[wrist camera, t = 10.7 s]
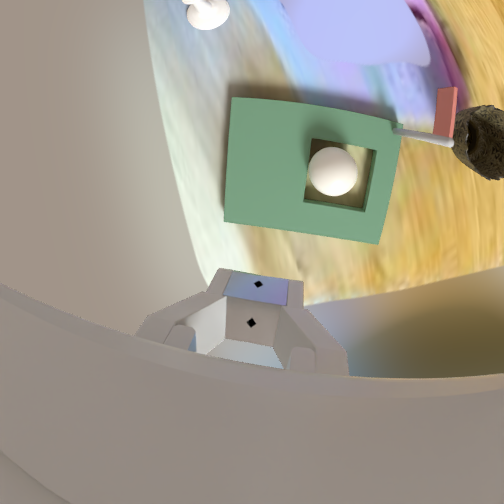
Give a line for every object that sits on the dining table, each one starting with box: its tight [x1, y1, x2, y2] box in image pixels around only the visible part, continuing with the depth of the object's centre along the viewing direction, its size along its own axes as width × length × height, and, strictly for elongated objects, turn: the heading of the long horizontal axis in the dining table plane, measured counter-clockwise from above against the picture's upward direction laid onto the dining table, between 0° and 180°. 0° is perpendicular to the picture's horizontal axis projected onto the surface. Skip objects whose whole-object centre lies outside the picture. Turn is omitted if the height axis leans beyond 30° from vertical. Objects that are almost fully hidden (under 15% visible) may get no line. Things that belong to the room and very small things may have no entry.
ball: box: [309, 147, 358, 196], centre depth 27 cm, size 5×5×5 cm
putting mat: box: [224, 87, 458, 245], centre depth 23 cm, size 17×18×14 cm
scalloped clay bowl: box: [451, 105, 504, 180], centre depth 21 cm, size 8×7×8 cm
